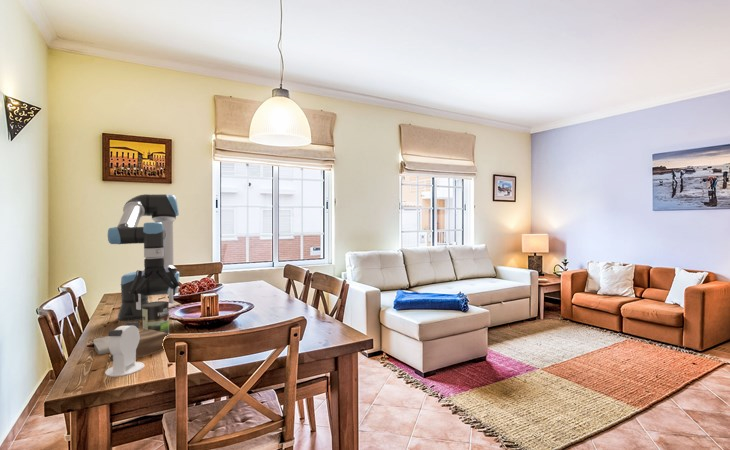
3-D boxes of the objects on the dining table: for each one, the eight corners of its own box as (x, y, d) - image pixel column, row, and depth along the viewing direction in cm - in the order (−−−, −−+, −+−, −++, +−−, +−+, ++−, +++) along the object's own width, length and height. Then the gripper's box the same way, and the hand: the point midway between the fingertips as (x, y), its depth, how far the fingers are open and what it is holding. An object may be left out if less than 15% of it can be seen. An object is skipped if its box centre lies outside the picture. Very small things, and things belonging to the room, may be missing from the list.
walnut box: (119, 353, 144) (119, 336, 144) (150, 343, 155) (149, 328, 155) (138, 358, 138) (137, 341, 138) (168, 348, 149) (167, 332, 149)
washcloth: (125, 338, 162) (124, 331, 162) (134, 348, 149) (134, 341, 149) (91, 345, 154) (91, 337, 154) (98, 357, 141) (97, 348, 141)
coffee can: (174, 332, 168) (174, 301, 167) (157, 340, 158) (156, 307, 157) (155, 331, 170) (154, 300, 169) (136, 338, 160) (135, 306, 159)
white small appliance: (120, 362, 135) (119, 321, 134) (152, 361, 135) (150, 320, 134) (97, 376, 123) (95, 331, 122) (131, 376, 123) (130, 331, 122)
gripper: (126, 261, 150) (127, 313, 151) (186, 255, 170) (187, 301, 171) (118, 260, 155) (119, 311, 155) (178, 254, 175) (179, 299, 175)
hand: (155, 306), depth 163 cm, fingers open, 13 cm apart
